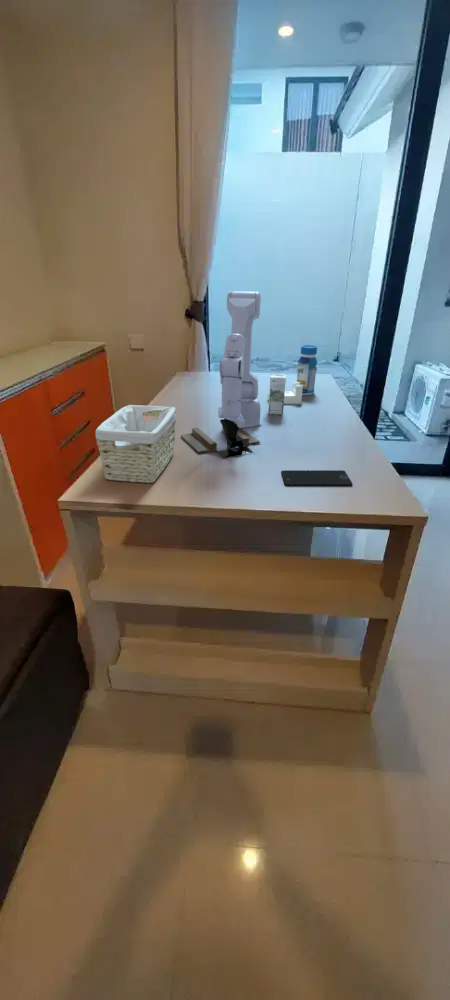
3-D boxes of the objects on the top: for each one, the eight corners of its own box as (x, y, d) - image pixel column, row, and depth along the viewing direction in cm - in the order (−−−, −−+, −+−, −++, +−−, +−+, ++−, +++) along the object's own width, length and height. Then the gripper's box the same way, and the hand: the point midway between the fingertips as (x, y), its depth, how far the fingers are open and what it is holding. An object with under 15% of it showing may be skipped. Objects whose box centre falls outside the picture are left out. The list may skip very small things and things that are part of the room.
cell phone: (352, 487, 116) (353, 484, 115) (284, 487, 115) (285, 484, 115) (344, 473, 123) (344, 470, 123) (280, 473, 123) (280, 470, 123)
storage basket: (129, 449, 137) (125, 402, 130) (180, 452, 135) (178, 405, 128) (99, 482, 117) (91, 430, 109) (158, 487, 114) (154, 433, 107)
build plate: (247, 446, 141) (248, 433, 139) (258, 455, 135) (259, 441, 133) (211, 452, 136) (212, 438, 134) (221, 461, 130) (221, 446, 128)
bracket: (297, 399, 188) (299, 381, 184) (301, 404, 182) (302, 386, 178) (267, 399, 187) (268, 382, 184) (269, 404, 181) (270, 386, 177)
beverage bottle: (315, 395, 192) (320, 348, 183) (296, 395, 193) (300, 347, 183) (312, 390, 200) (317, 344, 190) (294, 390, 200) (297, 344, 190)
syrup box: (282, 410, 173) (285, 373, 166) (283, 415, 167) (285, 377, 161) (268, 410, 173) (270, 373, 166) (268, 415, 168) (270, 376, 161)
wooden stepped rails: (237, 428, 154) (237, 421, 153) (259, 443, 142) (260, 436, 140) (181, 436, 146) (180, 429, 145) (198, 453, 134) (198, 446, 133)
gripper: (209, 394, 134) (209, 436, 141) (229, 407, 123) (228, 452, 129) (230, 392, 137) (229, 433, 143) (251, 404, 125) (250, 448, 132)
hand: (230, 442), depth 136 cm, fingers closed
